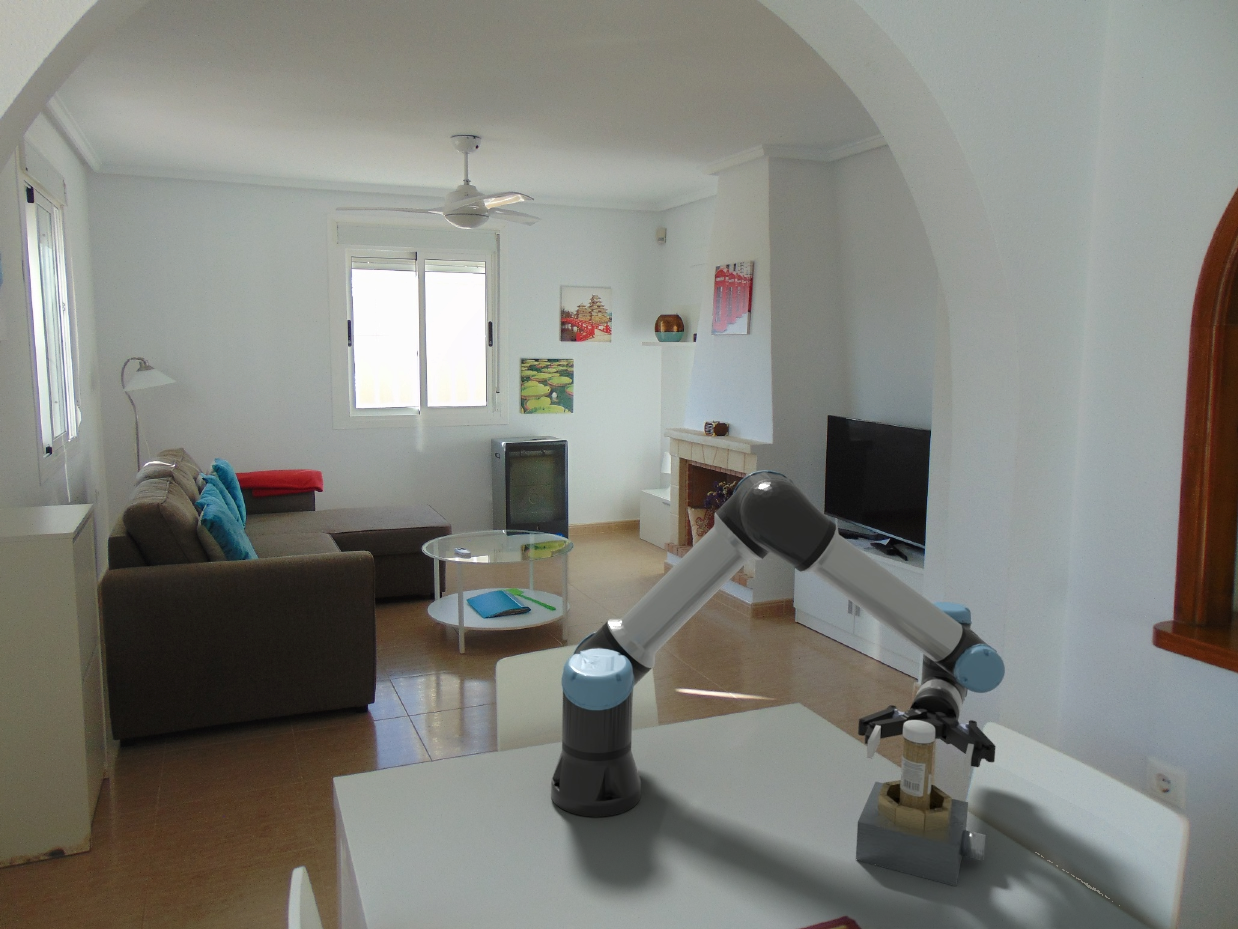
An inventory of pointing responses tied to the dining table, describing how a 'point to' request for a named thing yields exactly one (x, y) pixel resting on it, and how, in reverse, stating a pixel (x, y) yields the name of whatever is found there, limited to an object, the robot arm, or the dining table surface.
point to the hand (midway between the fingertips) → (916, 760)
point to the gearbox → (916, 834)
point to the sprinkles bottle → (916, 764)
